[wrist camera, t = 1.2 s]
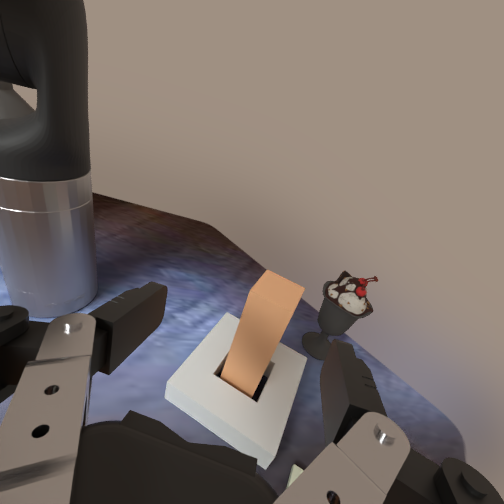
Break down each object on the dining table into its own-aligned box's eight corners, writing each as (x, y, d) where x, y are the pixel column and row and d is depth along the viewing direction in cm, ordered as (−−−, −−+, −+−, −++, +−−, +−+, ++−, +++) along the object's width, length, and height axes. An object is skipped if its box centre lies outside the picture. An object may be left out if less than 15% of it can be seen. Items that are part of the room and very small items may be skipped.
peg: (216, 387, 29) (250, 290, 22) (233, 362, 33) (267, 269, 25) (246, 408, 28) (293, 313, 21) (260, 379, 32) (305, 288, 24)
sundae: (329, 375, 35) (387, 294, 27) (288, 343, 38) (331, 261, 30) (345, 348, 40) (398, 273, 32) (308, 321, 42) (349, 246, 35)
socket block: (164, 398, 27) (167, 381, 25) (222, 326, 37) (226, 312, 35) (265, 469, 24) (275, 456, 22) (299, 371, 34) (307, 357, 32)
